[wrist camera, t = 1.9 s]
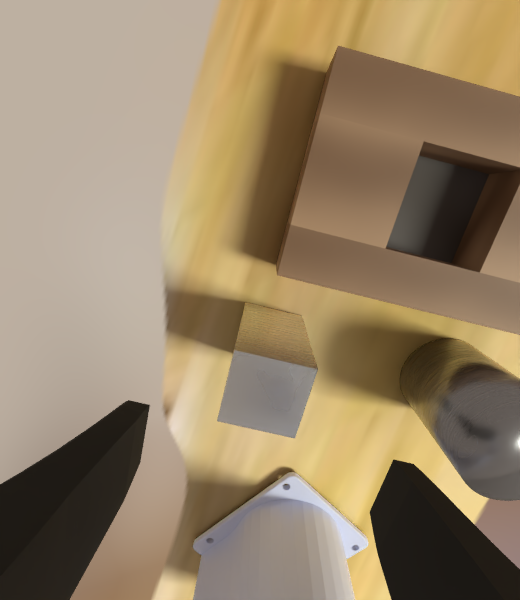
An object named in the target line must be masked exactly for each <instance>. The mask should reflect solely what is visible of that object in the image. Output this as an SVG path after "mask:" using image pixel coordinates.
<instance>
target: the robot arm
mask: <svg viewBox="0 0 520 600" xmlns="http://www.w3.org/2000/svg"><path fill="white" fill-rule="evenodd" d="M148 412H149V405H147V404H142V403H138V402H134V401H129V400H128V401H126V402H125V403H123V404H122V405H120V406H119V407H118V408H116V409H115V410H113V411H112V412H111V413H109V414H108V415H107V416H105V417H104V418H103V419H101V420H100V421H98V422H97V423H96V424H94V425H93V426H91V427H90V428H88V429H87V430H86V431H84V432H83V433H81V434H80V435H78V436H77V437H75V438H74V439H72V440H71V441H69V442H68V443H66V444H65V445H63V446H62V447H61V448H59V449H57V450H56V451H54V452H53V453H51V454H50V455H48V456H46V457H45V458H43V459H42V460H40V461H39V462H37V463H35V464H34V465H32V466H30V467H29V468H27V469H25V470H24V471H23V472H21V473H19V474H17V475H16V476H14V477H12V478H10V479H9V480H7V481H5V482H4V483H2V484H0V600H70V598H71V596H72V594H73V592H74V590H75V589H76V587H77V585H78V583H79V581H80V580H81V578H82V576H83V574H84V572H85V571H86V569H87V567H88V565H89V563H90V561H91V560H92V558H93V556H94V554H95V552H96V551H97V549H98V547H99V545H100V543H101V541H102V540H103V538H104V536H105V534H106V532H107V531H108V529H109V527H110V525H111V523H112V521H113V520H114V518H115V516H116V514H117V512H118V510H119V509H120V507H121V505H122V503H123V501H124V499H125V497H126V494H127V492H128V490H129V487H130V485H131V483H132V481H133V478H134V476H135V473H136V471H137V469H138V466H139V464H140V460H141V454H142V448H143V442H144V436H145V430H146V424H147V418H148ZM284 484H288V485H284ZM370 516H371V522H372V527H373V533H374V538H375V543H376V548H377V552H378V556H379V560H380V563H381V566H382V570H383V573H384V576H385V580H386V583H387V586H388V589H389V593H390V596H391V599H392V600H520V569H519V568H518V567H517V566H515V564H514V563H512V562H511V561H510V560H509V559H508V558H507V557H506V556H505V555H504V554H503V553H502V552H501V551H500V550H499V549H498V548H497V547H496V546H495V545H494V544H493V543H492V542H491V541H490V540H489V539H488V538H487V537H486V536H485V535H484V534H483V533H482V532H481V531H480V530H479V529H478V528H477V527H476V526H475V525H474V524H473V523H472V522H471V521H470V520H469V519H468V518H467V517H466V516H465V515H464V514H463V513H462V512H461V511H460V510H459V509H458V508H457V507H456V506H455V505H454V503H453V502H452V501H451V500H450V499H449V498H448V497H447V496H446V495H445V494H444V493H443V492H442V491H441V490H440V489H439V488H438V487H437V486H436V485H435V484H434V483H433V482H432V481H431V480H430V479H429V478H428V477H427V476H426V475H425V474H424V473H423V472H422V471H421V470H419V469H418V468H417V467H416V466H415V465H414V464H411V463H406V462H402V461H397V460H393V462H392V464H391V466H390V469H389V471H388V473H387V475H386V477H385V480H384V482H383V484H382V486H381V488H380V491H379V493H378V495H377V497H376V499H375V502H374V504H373V506H372V508H371V510H370ZM367 546H368V540H367V537H366V535H364V534H363V533H362V532H361V531H360V530H359V529H358V528H357V527H356V526H355V525H353V524H352V523H351V522H350V521H349V520H348V519H347V518H346V517H345V516H343V515H342V514H341V513H340V512H339V511H338V510H337V509H336V508H335V507H333V506H332V505H331V504H330V503H329V502H328V501H327V500H326V499H325V498H324V497H322V496H321V495H320V494H319V493H318V492H317V491H316V490H315V489H314V488H312V487H311V486H310V485H309V484H308V483H307V482H306V481H305V480H304V479H302V478H301V477H300V476H299V475H298V474H297V473H294V472H289V473H287V474H285V475H284V476H283V477H281V478H280V479H278V480H277V481H276V482H274V483H273V484H271V485H270V486H269V487H267V488H266V489H264V490H263V491H262V492H260V493H259V494H258V495H256V496H255V497H253V498H252V499H251V500H249V501H248V502H246V503H245V504H244V505H242V506H241V507H239V508H238V509H237V510H235V511H234V512H232V513H231V514H230V515H228V516H227V517H225V518H224V519H223V520H221V521H220V522H218V523H217V524H216V525H214V526H213V527H211V528H210V529H209V530H207V531H206V532H204V533H203V534H202V535H200V536H199V537H197V538H196V539H195V540H194V544H193V549H194V550H195V551H196V552H197V553H199V554H200V555H201V560H200V566H199V571H198V576H197V581H196V587H195V592H194V597H193V600H355V596H354V592H353V587H352V582H351V578H350V573H349V569H348V564H347V560H346V559H348V558H350V557H351V556H353V555H355V554H356V553H358V552H359V551H361V550H363V549H364V548H366V547H367Z"/></svg>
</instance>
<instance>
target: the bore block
mask: <svg viewBox="0 0 520 600" xmlns="http://www.w3.org/2000/svg"><path fill="white" fill-rule="evenodd" d="M276 270H277V275H279V276H283V277H287V278H291V279H295V280H299V281H303V282H307V283H311V284H315V285H319V286H323V287H327V288H331V289H336V290H340V291H344V292H348V293H352V294H356V295H360V296H364V297H368V298H372V299H376V300H380V301H384V302H388V303H392V304H396V305H401V306H405V307H409V308H413V309H417V310H421V311H425V312H429V313H433V314H437V315H441V316H445V317H449V318H453V319H457V320H461V321H466V322H470V323H474V324H478V325H482V326H486V327H490V328H494V329H498V330H502V331H506V332H510V333H514V334H518V335H520V97H519V96H515V95H512V94H508V93H504V92H501V91H497V90H494V89H490V88H487V87H483V86H480V85H476V84H472V83H469V82H465V81H462V80H458V79H455V78H451V77H448V76H444V75H440V74H437V73H433V72H430V71H426V70H423V69H419V68H416V67H412V66H409V65H405V64H401V63H398V62H394V61H391V60H387V59H384V58H380V57H377V56H373V55H369V54H366V53H362V52H359V51H355V50H352V49H348V48H345V47H341V46H338V47H337V50H336V52H335V54H334V57H333V59H332V61H331V63H330V66H329V68H328V70H327V73H326V76H325V80H324V84H323V88H322V92H321V95H320V99H319V103H318V107H317V111H316V114H315V118H314V122H313V126H312V130H311V134H310V137H309V141H308V145H307V149H306V153H305V156H304V160H303V164H302V168H301V172H300V175H299V179H298V183H297V187H296V191H295V194H294V198H293V202H292V206H291V210H290V214H289V217H288V221H287V225H286V229H285V233H284V236H283V240H282V244H281V248H280V252H279V255H278V259H277V263H276Z"/></svg>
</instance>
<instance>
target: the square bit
mask: <svg viewBox="0 0 520 600" xmlns="http://www.w3.org/2000/svg"><path fill="white" fill-rule="evenodd" d="M317 370H318V368H317V365H316V362H315V358H314V355H313V352H312V348H311V345H310V342H309V338H308V335H307V332H306V328H305V325H304V322H303V318H302V316H301V315H297V314H293V313H288V312H284V311H280V310H276V309H272V308H268V307H264V306H259V305H255V304H251V303H247V302H245V306H244V310H243V315H242V319H241V323H240V327H239V331H238V335H237V339H236V343H235V348H234V352H233V356H232V360H231V364H230V369H229V373H228V377H227V381H226V386H225V390H224V394H223V398H222V403H221V407H220V411H219V415H218V420H217V421H219V422H224V423H228V424H233V425H237V426H242V427H246V428H251V429H255V430H260V431H264V432H269V433H273V434H278V435H282V436H286V437H291V438H295V436H296V433H297V430H298V427H299V424H300V421H301V418H302V415H303V412H304V409H305V406H306V403H307V400H308V397H309V394H310V391H311V388H312V385H313V382H314V379H315V376H316V373H317Z"/></svg>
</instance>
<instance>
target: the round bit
mask: <svg viewBox="0 0 520 600" xmlns="http://www.w3.org/2000/svg"><path fill="white" fill-rule="evenodd" d="M400 387H401V391H402V393H403V395H404V397H405V398H406V400H407V401H408V403H409V404H410V405H411V407H412V408H413V410H414V411H415V412H416V414H417V415H418V417H419V418H420V420H421V421H422V422H423V424H424V425H425V427H426V428H427V429H428V431H429V432H430V434H431V435H432V436H433V438H434V439H435V441H436V442H437V444H438V445H439V446H440V448H441V449H442V451H443V452H444V453H445V455H446V456H447V458H448V459H449V460H450V462H451V463H452V465H453V466H454V468H455V469H456V470H457V472H458V473H459V475H460V476H461V477H462V479H463V480H464V482H465V483H466V484H467V485H468V486H469V487H470V488H471V489H472V490H473V491H475V492H476V493H478V494H480V495H482V496H484V497H487V498H491V499H496V500H504V501H513V500H520V379H519V378H518V377H516V376H515V375H513V374H512V373H511V372H509V371H508V370H506V369H505V368H503V367H502V366H500V365H499V364H498V363H496V362H495V361H493V360H492V359H490V358H489V357H487V356H486V355H485V354H483V353H482V352H480V351H479V350H477V349H476V348H474V347H473V346H472V345H470V344H468V343H466V342H464V341H461V340H457V339H439V340H435V341H431V342H429V343H427V344H425V345H423V346H421V347H419V348H418V349H417V350H415V351H414V352H413V353H412V354H411V355H410V356H409V357H408V359H407V360H406V362H405V363H404V365H403V367H402V370H401V374H400Z"/></svg>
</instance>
